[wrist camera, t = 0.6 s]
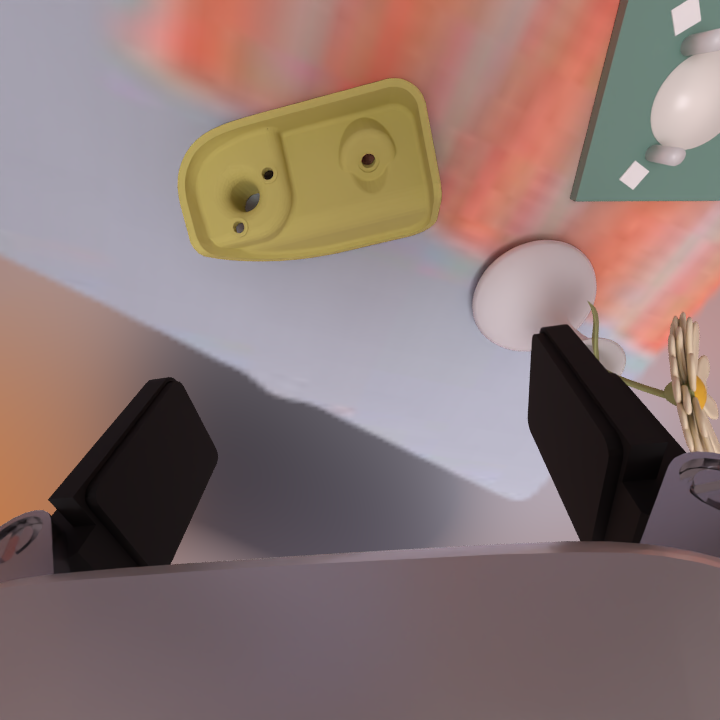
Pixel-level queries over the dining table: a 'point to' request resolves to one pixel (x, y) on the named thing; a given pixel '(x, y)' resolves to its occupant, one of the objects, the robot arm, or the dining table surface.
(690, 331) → the flower in vase
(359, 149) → the plastic component
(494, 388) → the dining table surface
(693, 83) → the board
